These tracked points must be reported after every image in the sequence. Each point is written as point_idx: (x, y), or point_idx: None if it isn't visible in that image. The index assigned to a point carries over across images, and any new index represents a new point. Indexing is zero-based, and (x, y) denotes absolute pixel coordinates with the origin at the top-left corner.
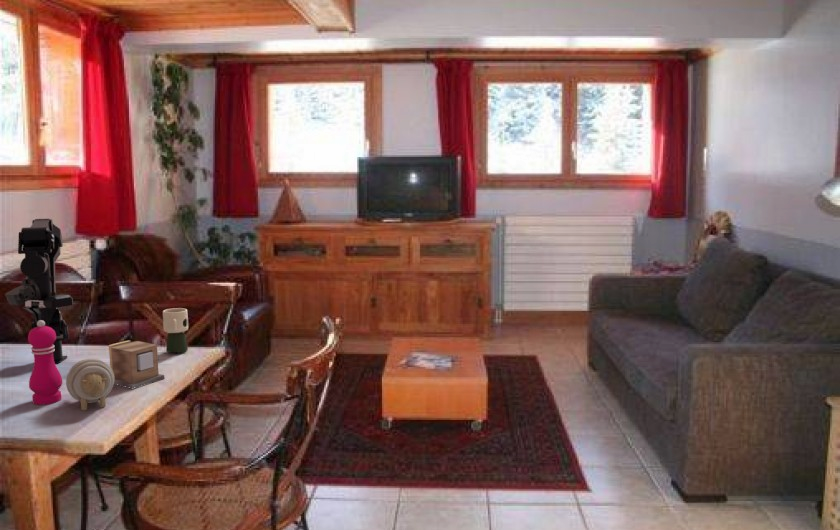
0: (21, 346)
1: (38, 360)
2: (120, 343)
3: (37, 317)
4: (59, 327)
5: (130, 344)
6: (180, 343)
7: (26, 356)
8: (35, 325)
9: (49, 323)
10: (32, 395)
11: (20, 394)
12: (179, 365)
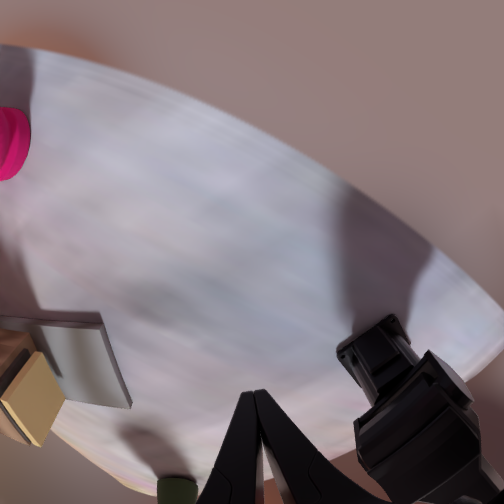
0: (499, 342)
1: None
2: (16, 422)
3: (284, 484)
4: (361, 452)
5: (1, 419)
6: (157, 494)
7: (458, 325)
8: (443, 404)
9: (401, 445)
10: (9, 109)
11: (103, 106)
12: (84, 441)
